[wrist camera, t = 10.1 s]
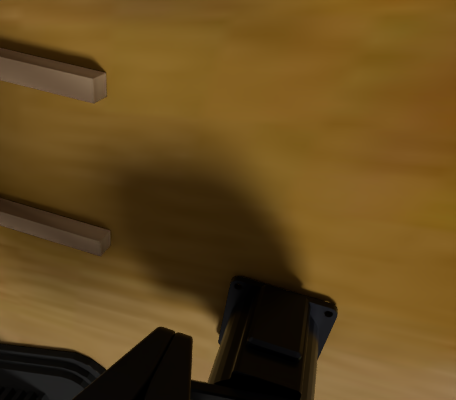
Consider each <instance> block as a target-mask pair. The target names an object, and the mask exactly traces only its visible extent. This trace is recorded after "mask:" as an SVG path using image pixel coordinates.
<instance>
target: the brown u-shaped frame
mask: <svg viewBox="0 0 456 400" xmlns="http://www.w3.org/2000/svg"><path fill="white" fill-rule="evenodd" d="M0 80H2V81H6V82H10V83H14V84H18V85H22V86H26V87H30V88H34V89H38V90H42V91H46V92H50V93H54V94H58V95H62V96H66V97H70V98H74V99H78V100H82V101H86V102H90V103H96V102H98V101H99V100H101V99H103V98H105V97H106V96H107V92H106V73H105V72H100V71H96V70H92V69H88V68H83V67H79V66H75V65H71V64H67V63H62V62H58V61H54V60H50V59H45V58H41V57H37V56H33V55H29V54H24V53H20V52H16V51H12V50H7V49H3V48H0ZM0 225H1V226H4V227H7V228H10V229H14V230H17V231H20V232H23V233H27V234H30V235H33V236H36V237H39V238H43V239H46V240H49V241H52V242H56V243H59V244H62V245H65V246H69V247H72V248H75V249H78V250H82V251H85V252H88V253H91V254H95V255H98V256H102V255H103V253H104V252H105V251H106V250H107V249H108V248H109V246H110V245H111V239H110V230H107V229H103V228H100V227H96V226H93V225H90V224H86V223H83V222H80V221H76V220H73V219H70V218H66V217H63V216H59V215H56V214H53V213H49V212H46V211H43V210H39V209H36V208H33V207H29V206H26V205H22V204H19V203H16V202H12V201H9V200H6V199H2V198H0Z"/></svg>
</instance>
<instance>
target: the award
mask: <svg viewBox="0 0 456 400" xmlns="http://www.w3.org/2000/svg"><path fill="white" fill-rule="evenodd" d="M105 371H106V370H105V369H104V368H102V367H101V366H100V365H98V364H97V363H96V362H94V361H93V360H91V359H89V358H86V357H84V356H82V355H79V354H77V353H71V352H63V351H55V350H46V349H38V348H29V347H21V346H12V345H4V344H0V400H72V399H73V398H74V397H75V396H77V395H78V394H79V393H80V392H81V391H83V390H84V389H85V388H86V387H87V386H88V385H90V384H91V383H92V382H93V381H94V380H96V379H97V378H98V377H99V376H100V375H102V374H103V373H104V372H105Z"/></svg>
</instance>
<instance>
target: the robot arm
mask: <svg viewBox="0 0 456 400" xmlns="http://www.w3.org/2000/svg"><path fill="white" fill-rule="evenodd" d="M237 283H238V284H241V285H238V284H237ZM327 311H331V312H327ZM337 311H338V309H337V307H336V306H335V305H334V304H332V303H328V302H325V301H322V300H318V299H315V298H312V297H308V296H305V295H302V294H298V293H295V292H292V291H288V290H285V289H282V288H278V287H275V286H272V285H268V284H265V283H262V282H258V281H255V280H252V279H248V278H245V277H242V276H235V277H233V279H232V281H231V284H230V288H229V292H228V297H227V302H226V307H225V311H224V316H223V321H222V326H221V330H220V335H219V340H218V343H219V345H220V347H219V350H218V353H217V356H216V359H215V362H214V365H213V368H212V371H211V374H210V377H209V380H208V383H206V382H201V381H196V380H191V366H192V344H193V339H192V337H191V336H189V335H186V334H183V333H179V332H178V333H176V334H175V331H173V330H170V329H167V328H164V327H158V328H156V329H155V330H154V331H153V332H151V333H150V334H149V335H148V336H147V337H146V338H144V339H143V340H142V341H141V342H140V343H138V344H137V345H136V346H135V347H134V348H132V349H131V350H130V351H129V352H128V353H126V354H125V355H124V356H123V357H122V358H121V359H119V360H118V361H117V362H116V363H115V364H113V365H112V366H111V367H110V368H109V369H107V370H106V371H105V372H104V373H103V374H102V375H100V376H99V377H98V378H97V379H96V380H94V381H93V382H92V383H91V384H90V385H88V386H87V387H86V388H85V389H84V390H83V391H81V392H80V393H79V394H78V395H77V396H75V397H74V398H73V399H72V400H314V393H315V381H316V368H317V360H318V358H319V355H320V353H321V351H322V349H323V347H324V344H325V342H326V340H327V338H328V335H329V333H330V331H331V329H332V327H333V324H334V322H335V320H336V318H337Z"/></svg>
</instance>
